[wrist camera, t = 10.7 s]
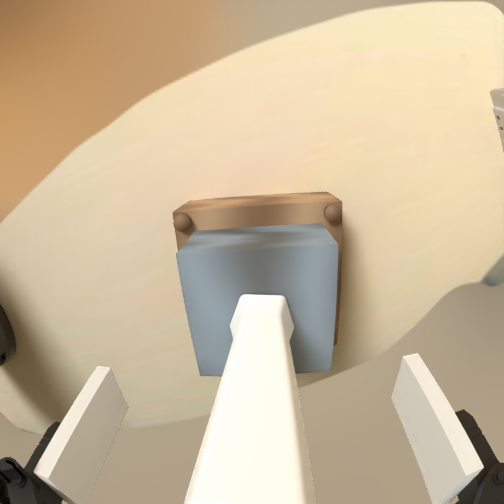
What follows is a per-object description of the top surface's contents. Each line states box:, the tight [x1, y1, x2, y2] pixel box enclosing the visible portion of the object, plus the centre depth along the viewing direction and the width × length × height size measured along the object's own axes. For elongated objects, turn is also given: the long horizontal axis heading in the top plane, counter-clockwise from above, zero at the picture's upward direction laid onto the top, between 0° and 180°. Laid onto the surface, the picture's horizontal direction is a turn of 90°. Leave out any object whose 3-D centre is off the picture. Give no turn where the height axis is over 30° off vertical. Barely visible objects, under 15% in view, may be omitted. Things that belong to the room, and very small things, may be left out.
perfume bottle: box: [183, 294, 317, 504], centre depth 11 cm, size 5×4×15 cm
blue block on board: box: [173, 192, 342, 376], centre depth 22 cm, size 12×12×10 cm
